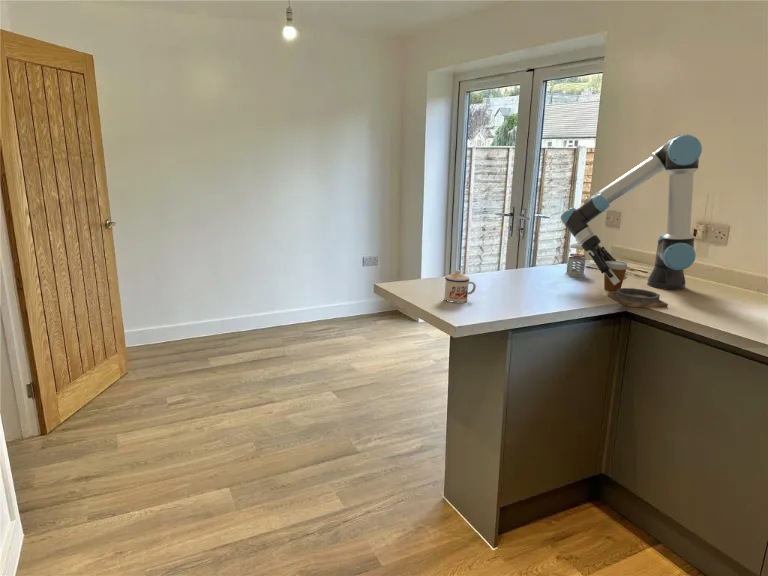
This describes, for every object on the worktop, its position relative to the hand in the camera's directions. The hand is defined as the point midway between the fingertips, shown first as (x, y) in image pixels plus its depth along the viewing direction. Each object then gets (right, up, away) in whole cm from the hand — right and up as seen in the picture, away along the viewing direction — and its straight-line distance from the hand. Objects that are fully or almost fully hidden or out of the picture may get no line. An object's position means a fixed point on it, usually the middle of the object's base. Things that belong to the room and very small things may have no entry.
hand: (621, 281), depth 226 cm
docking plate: (0, -8, -14) cm, 17 cm away
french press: (-9, +3, +32) cm, 33 cm away
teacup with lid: (-71, -8, -22) cm, 75 cm away
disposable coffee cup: (-3, -4, +3) cm, 6 cm away
